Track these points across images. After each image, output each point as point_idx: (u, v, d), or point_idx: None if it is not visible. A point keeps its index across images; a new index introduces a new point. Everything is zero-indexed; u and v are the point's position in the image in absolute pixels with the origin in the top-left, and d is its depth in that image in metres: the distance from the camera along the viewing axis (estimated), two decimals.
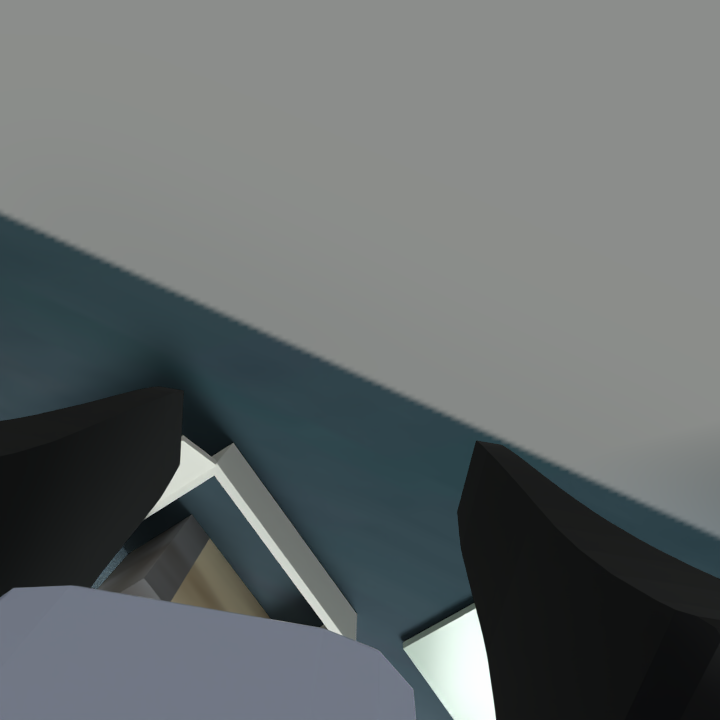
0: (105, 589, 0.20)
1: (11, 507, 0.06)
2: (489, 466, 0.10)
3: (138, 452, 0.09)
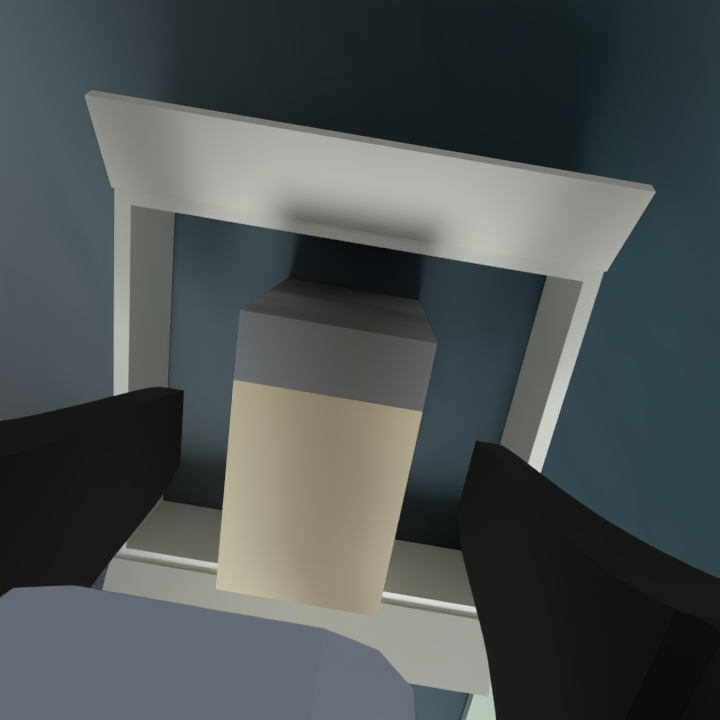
0: (302, 304, 0.11)
1: (13, 506, 0.06)
2: (489, 466, 0.10)
3: (137, 452, 0.09)
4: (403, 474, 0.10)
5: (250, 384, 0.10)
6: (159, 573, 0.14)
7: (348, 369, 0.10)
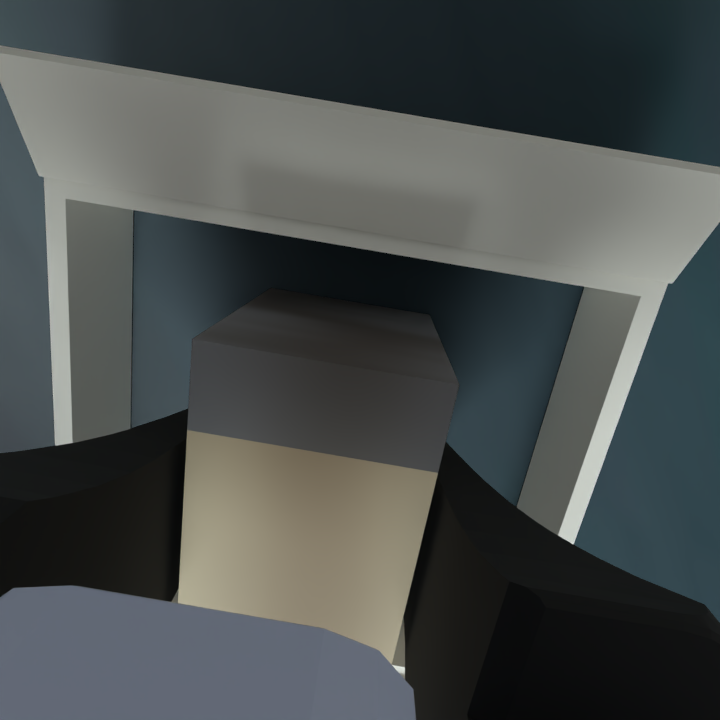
0: (281, 326, 0.08)
1: (125, 526, 0.06)
2: None
3: None
4: (412, 550, 0.08)
5: (209, 435, 0.07)
6: None
7: (339, 418, 0.07)
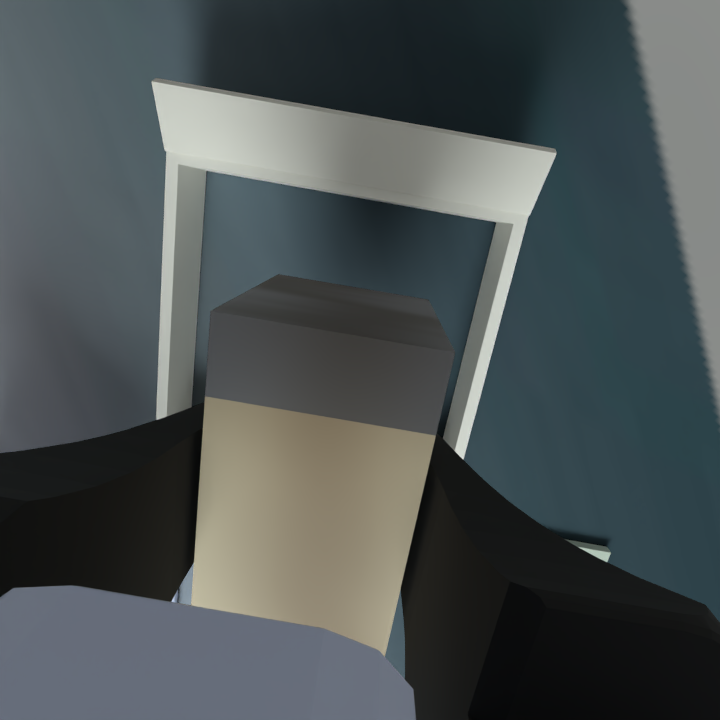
0: (290, 304, 0.09)
1: (125, 526, 0.06)
2: None
3: None
4: (412, 510, 0.09)
5: (225, 401, 0.08)
6: None
7: (345, 384, 0.08)
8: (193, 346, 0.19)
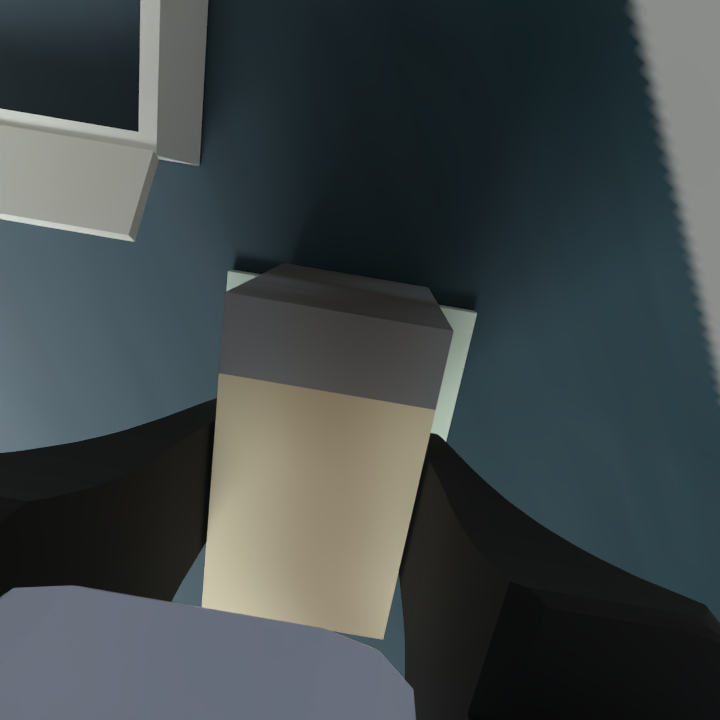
0: (298, 288, 0.10)
1: (124, 526, 0.06)
2: None
3: None
4: (413, 481, 0.09)
5: (238, 378, 0.09)
6: None
7: (351, 361, 0.08)
8: None
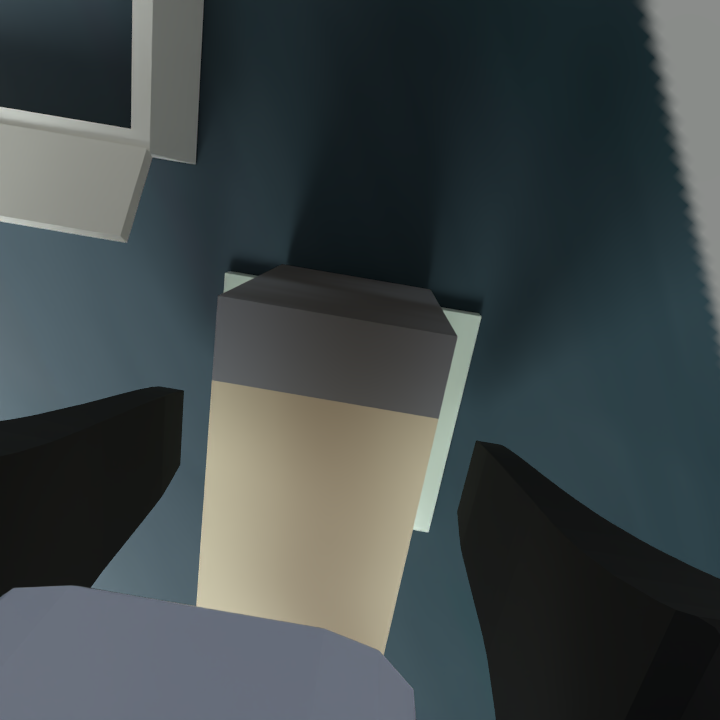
0: (295, 291, 0.09)
1: (12, 507, 0.06)
2: (489, 466, 0.10)
3: (137, 452, 0.09)
4: (414, 492, 0.09)
5: (232, 385, 0.08)
6: None
7: (350, 368, 0.08)
8: None
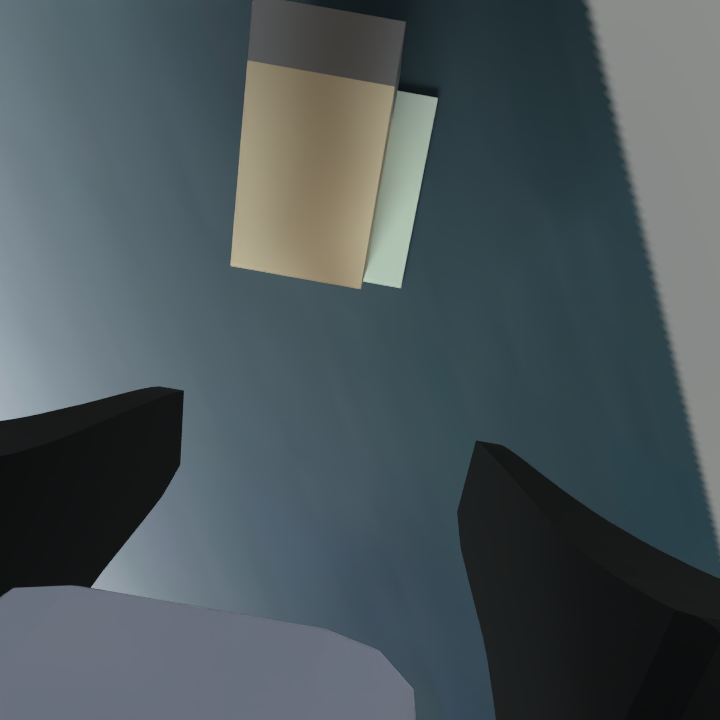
0: None
1: (13, 506, 0.06)
2: (489, 466, 0.10)
3: (137, 452, 0.09)
4: (380, 148, 0.13)
5: (260, 64, 0.13)
6: None
7: (337, 48, 0.12)
8: None
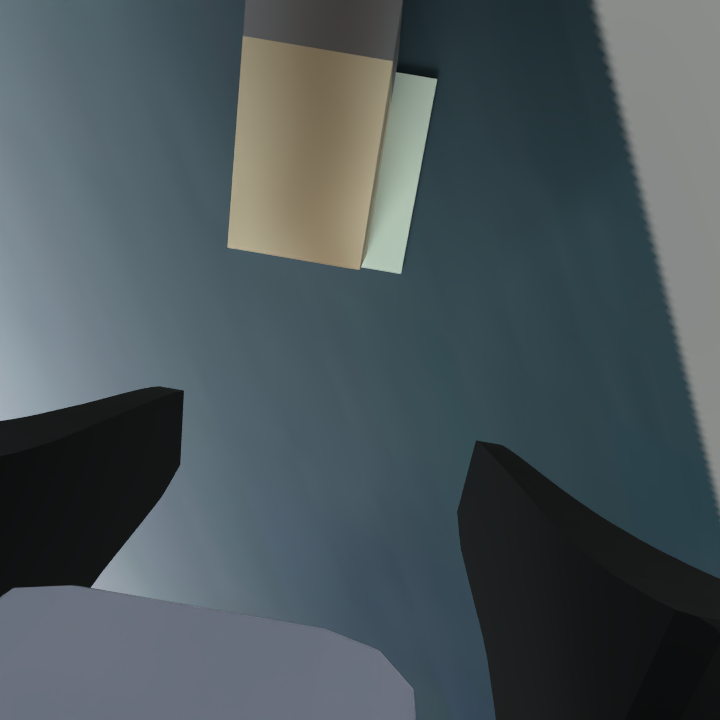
0: None
1: (12, 506, 0.06)
2: (489, 466, 0.10)
3: (137, 452, 0.09)
4: (378, 125, 0.13)
5: (256, 40, 0.12)
6: None
7: (334, 22, 0.12)
8: None
